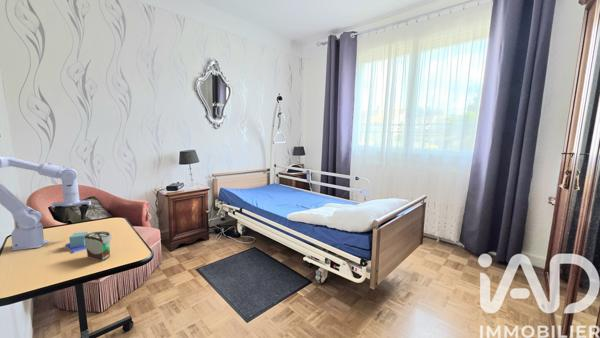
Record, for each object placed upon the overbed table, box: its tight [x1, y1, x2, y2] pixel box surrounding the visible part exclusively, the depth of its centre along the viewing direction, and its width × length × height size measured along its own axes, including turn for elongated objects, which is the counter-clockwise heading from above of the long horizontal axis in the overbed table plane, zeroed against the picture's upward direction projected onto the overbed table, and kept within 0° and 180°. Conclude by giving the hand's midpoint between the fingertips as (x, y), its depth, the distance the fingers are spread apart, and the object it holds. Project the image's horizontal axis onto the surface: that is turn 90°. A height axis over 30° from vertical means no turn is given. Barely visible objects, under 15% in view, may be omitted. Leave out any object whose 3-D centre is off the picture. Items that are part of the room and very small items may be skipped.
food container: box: [84, 230, 113, 262], centre depth 107 cm, size 12×6×10 cm, turn 71°
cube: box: [68, 231, 89, 248], centre depth 115 cm, size 5×5×5 cm
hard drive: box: [65, 242, 87, 254], centre depth 116 cm, size 2×8×12 cm
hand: (73, 220), depth 122 cm, fingers open, 7 cm apart
